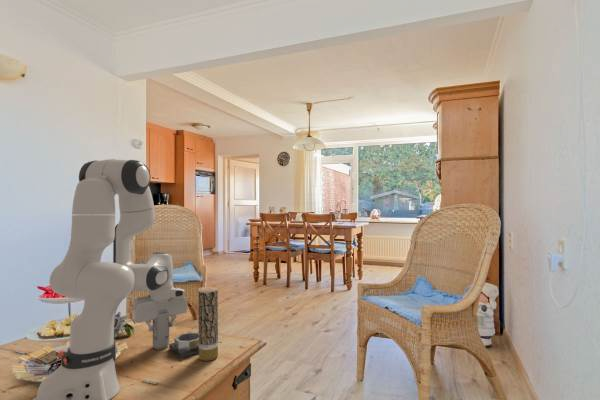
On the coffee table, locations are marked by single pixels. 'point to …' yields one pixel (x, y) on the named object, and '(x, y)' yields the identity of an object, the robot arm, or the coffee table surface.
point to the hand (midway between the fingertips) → (161, 328)
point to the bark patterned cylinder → (208, 323)
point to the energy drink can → (161, 330)
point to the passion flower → (122, 325)
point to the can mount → (185, 345)
